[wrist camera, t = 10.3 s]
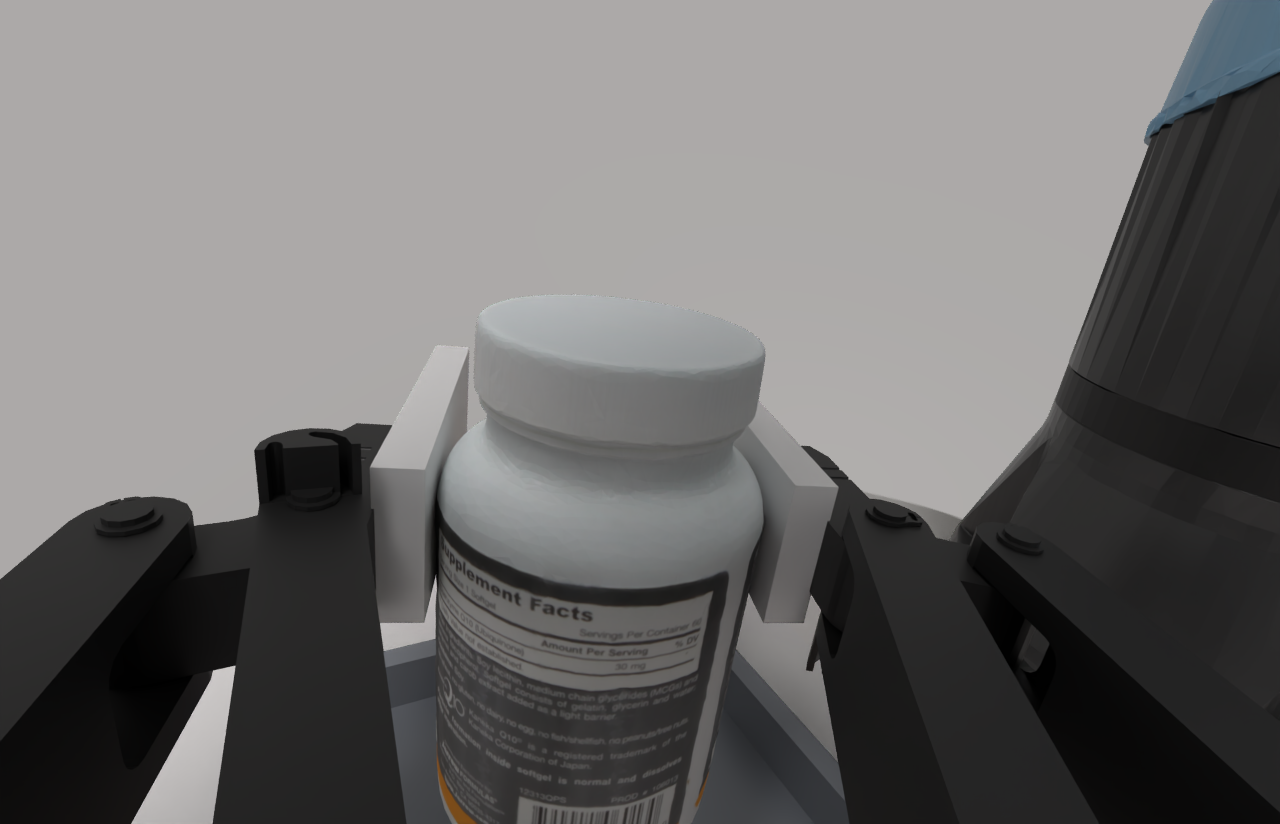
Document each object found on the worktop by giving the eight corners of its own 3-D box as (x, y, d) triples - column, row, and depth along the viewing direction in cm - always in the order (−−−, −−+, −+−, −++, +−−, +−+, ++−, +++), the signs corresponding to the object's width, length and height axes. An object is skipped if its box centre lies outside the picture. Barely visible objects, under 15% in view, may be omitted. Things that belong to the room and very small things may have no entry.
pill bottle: (544, 641, 17) (574, 277, 14) (740, 741, 15) (836, 333, 12) (372, 802, 13) (354, 307, 9) (622, 985, 10) (725, 413, 7)
